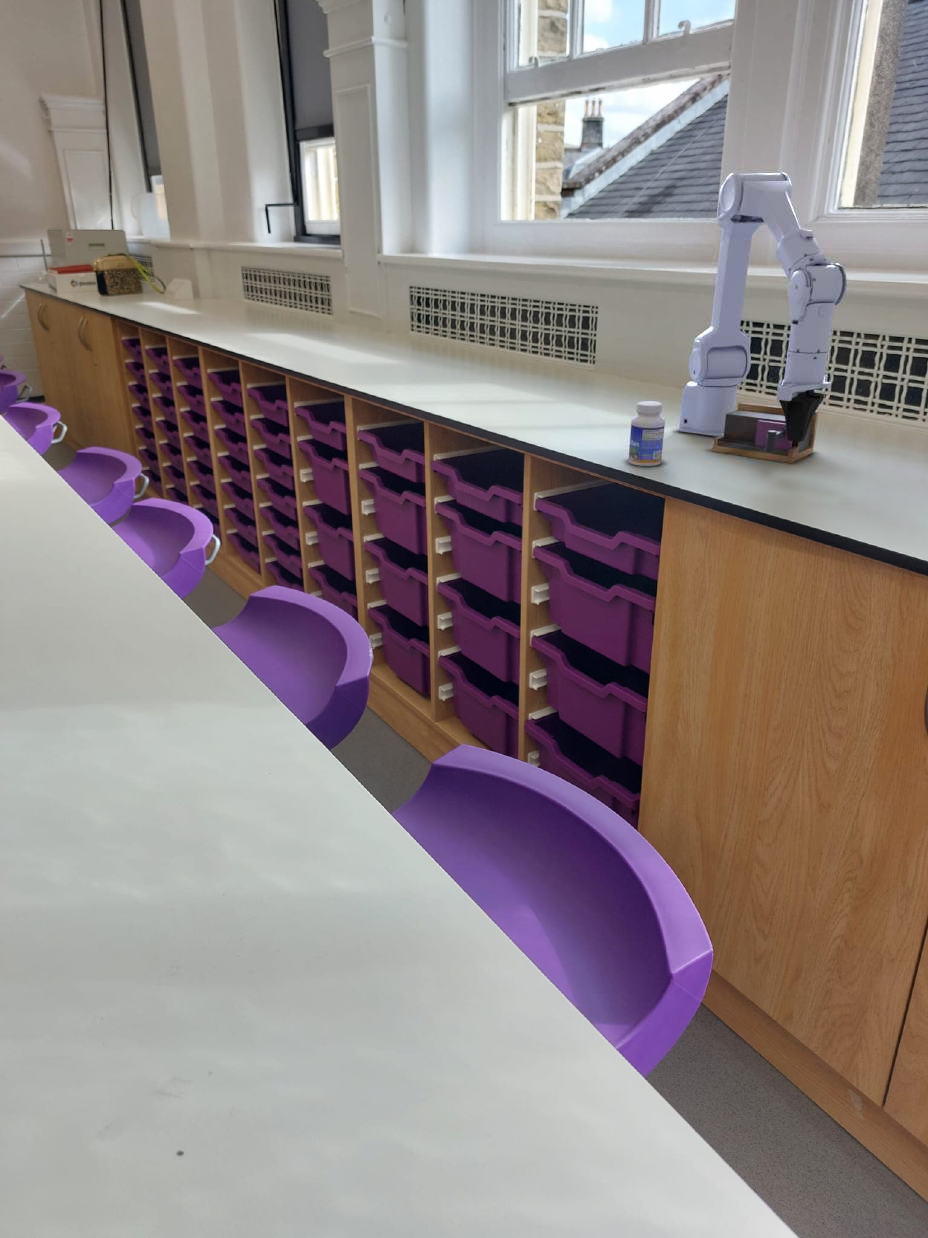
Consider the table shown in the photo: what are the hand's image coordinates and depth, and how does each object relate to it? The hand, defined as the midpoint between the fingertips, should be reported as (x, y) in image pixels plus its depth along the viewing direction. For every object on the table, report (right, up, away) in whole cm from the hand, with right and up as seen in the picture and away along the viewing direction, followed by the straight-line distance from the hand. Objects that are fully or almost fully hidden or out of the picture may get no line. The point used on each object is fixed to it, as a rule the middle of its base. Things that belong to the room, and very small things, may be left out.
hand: (795, 440), depth 138 cm
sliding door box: (-1, +1, +12) cm, 13 cm away
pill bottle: (-22, -2, +7) cm, 24 cm away
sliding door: (-3, -1, +6) cm, 7 cm away
